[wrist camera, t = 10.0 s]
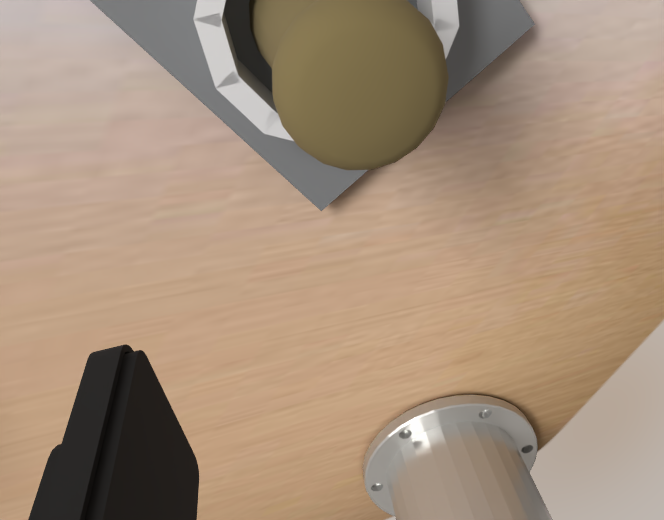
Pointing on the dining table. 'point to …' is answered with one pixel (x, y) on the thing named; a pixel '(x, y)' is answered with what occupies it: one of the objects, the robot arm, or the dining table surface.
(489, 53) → the mat
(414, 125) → the cork
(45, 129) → the dining table surface
